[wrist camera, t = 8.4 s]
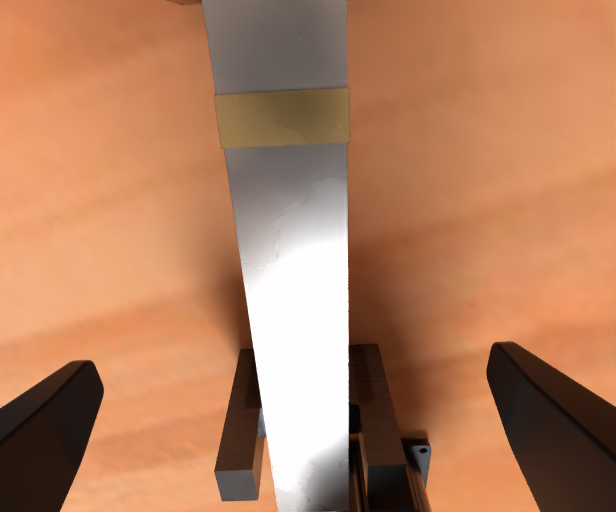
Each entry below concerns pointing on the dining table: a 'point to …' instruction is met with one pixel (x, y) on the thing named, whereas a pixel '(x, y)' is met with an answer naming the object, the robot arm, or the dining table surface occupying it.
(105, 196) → the dining table surface
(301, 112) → the grey metal bar
